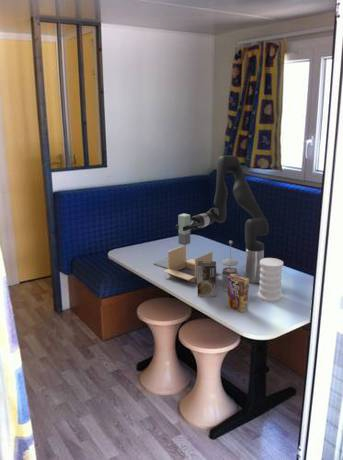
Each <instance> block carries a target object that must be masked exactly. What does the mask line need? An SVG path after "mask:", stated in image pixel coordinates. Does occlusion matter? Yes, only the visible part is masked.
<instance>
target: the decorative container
mask: <svg viewBox="0 0 343 460" xmlns="http://www.w3.org/2000/svg"><path fill="white" fill-rule="evenodd" d="M260 265H261V268H260V271H261V273H260V281H259V282H260V283H259V286H258V289H259V291H258V292H257V296H256V297H257V298H258V300H260V301H262V302H267V303H277V302H280V301H281V300H282V299H283V295H282V293H281V289H282V288H281V286H282V281H281V280H282V278H283V277H282V272H283V267H284V261H283V260H281V259H279V258H273V257H264V259H261V260H260Z"/></svg>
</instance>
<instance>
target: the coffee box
mask: <svg viewBox="0 0 343 460" xmlns="http://www.w3.org/2000/svg"><path fill="white" fill-rule="evenodd" d="M216 266H217V261H213V260H212V261H198V264H197V283H196V284H197V288H196V289H197V293H196V295H197V297H212V298H213V297H214V298H215V297H216V298H217V267H216Z"/></svg>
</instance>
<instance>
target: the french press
mask: <svg viewBox="0 0 343 460" xmlns="http://www.w3.org/2000/svg"><path fill="white" fill-rule="evenodd" d="M233 243H234V242H233V240H229V241H228V244H229V245H230V247H229V253H230V254H229V258H226V259H224V260H222V261H221V263H222V265H224V266H226V267H224V268H222V271H221V285H220V286H219V289H220V290H221V291H224V292H227V293H228V276H230V275H232V274H235V275H238V276H239V271H238V269H237V267H234V266H238V264H239V261H238V260H236V259H234V258H231V256H232V255H231V253H232V244H233Z"/></svg>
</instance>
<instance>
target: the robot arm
mask: <svg viewBox="0 0 343 460" xmlns="http://www.w3.org/2000/svg"><path fill="white" fill-rule="evenodd" d="M216 165H217V166H216V188H215V193H214V194H215V195H214V200H213V205H214V207H212V208H210V209H209V210H208V211H206V212H204V213H200V214H196V215H193V216H192V217H191V216H190V225H187V226H184V227H183V231H186V230H190V231H196V230H200V229H203V228H205V227H207V226H210V225H212V224H213V223H214V222H216V223H217V222H218V223H219V224H223V223H224V222H225V221H226V219H227V200H228V196H229V195H228V193H229V192H228V188H227V185H226V182H225V173H232V175H233V178H234V183H233V187H232V194H233V197H234V198H235V201H236V203H237V204H238V205H239V206H240V207H241V208H242V209H244V211H246V212H247V213H249V214H250V215H251V217H252V218H249V219H247V220H246V222H245V224H244V242H245V260H244V261H245V264H244V277H245V278H248V279H249V283H251V284H252V283H253V284H260V282H259V281H260V273H261V271H260V268H261V265H260V260H261V259H264V258H265V257H264V256H265V254H264V253H265V244H264V242H261V241H259V240H257V237H262V236H266V235H268V234H269V231H270V228H269V227H270V226H269V222H268V221H267V219H266V218H267V217H265V215H264V214H263V212H262V210H261V208H260V206H259V205H258V203H257V201H256V199H255V196H254V194H253V192H252V189H251V188H250V185H249V183H248V181H247V178H246V176H245V175H244V172H243V168H242V164H241V162H240V160H239V158H238V157H237V156H236V155H221V156H219V158H218V160H217V164H216ZM175 230H178V224H176V225H175Z"/></svg>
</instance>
